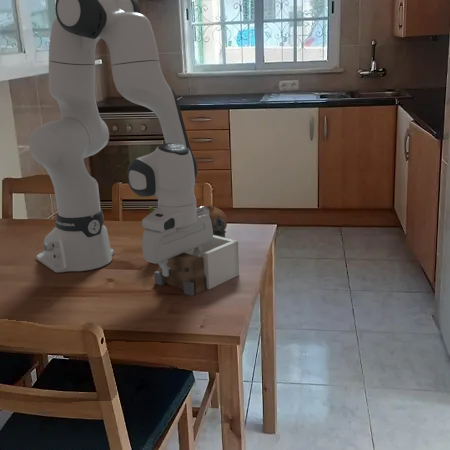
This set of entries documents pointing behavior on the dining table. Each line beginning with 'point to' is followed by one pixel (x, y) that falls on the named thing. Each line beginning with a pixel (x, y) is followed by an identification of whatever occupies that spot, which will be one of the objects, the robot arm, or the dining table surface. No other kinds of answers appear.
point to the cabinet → (213, 264)
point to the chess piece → (219, 227)
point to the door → (186, 271)
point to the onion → (216, 215)
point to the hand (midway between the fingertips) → (181, 269)
